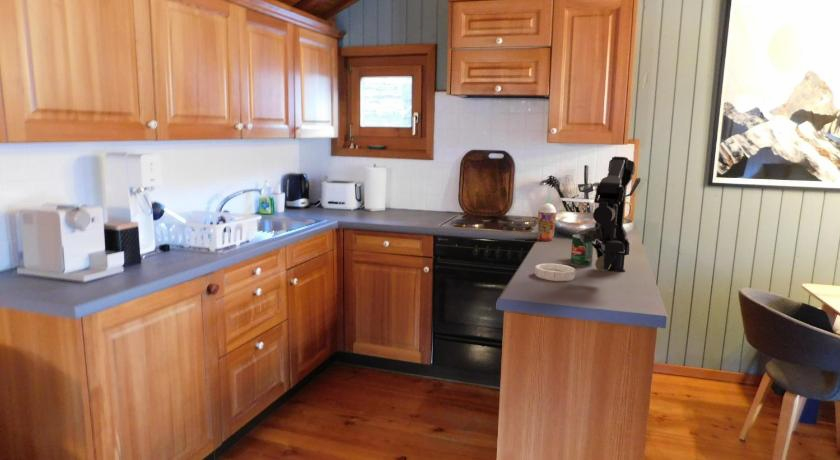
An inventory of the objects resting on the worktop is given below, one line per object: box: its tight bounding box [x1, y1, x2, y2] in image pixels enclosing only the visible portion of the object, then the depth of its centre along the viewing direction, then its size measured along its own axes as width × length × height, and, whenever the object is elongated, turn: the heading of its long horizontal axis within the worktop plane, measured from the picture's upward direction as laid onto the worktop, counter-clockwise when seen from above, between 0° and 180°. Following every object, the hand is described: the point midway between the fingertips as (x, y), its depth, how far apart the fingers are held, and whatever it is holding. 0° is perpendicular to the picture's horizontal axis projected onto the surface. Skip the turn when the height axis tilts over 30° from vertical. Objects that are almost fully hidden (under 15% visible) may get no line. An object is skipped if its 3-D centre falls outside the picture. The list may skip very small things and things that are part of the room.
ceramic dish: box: [534, 263, 576, 282], centre depth 199 cm, size 13×13×3 cm
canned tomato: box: [570, 233, 594, 268], centre depth 218 cm, size 8×8×11 cm
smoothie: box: [537, 197, 558, 242], centre depth 267 cm, size 8×8×20 cm
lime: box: [595, 256, 611, 272], centre depth 188 cm, size 4×5×5 cm
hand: (603, 267), depth 188 cm, fingers closed on lime, 5 cm apart
